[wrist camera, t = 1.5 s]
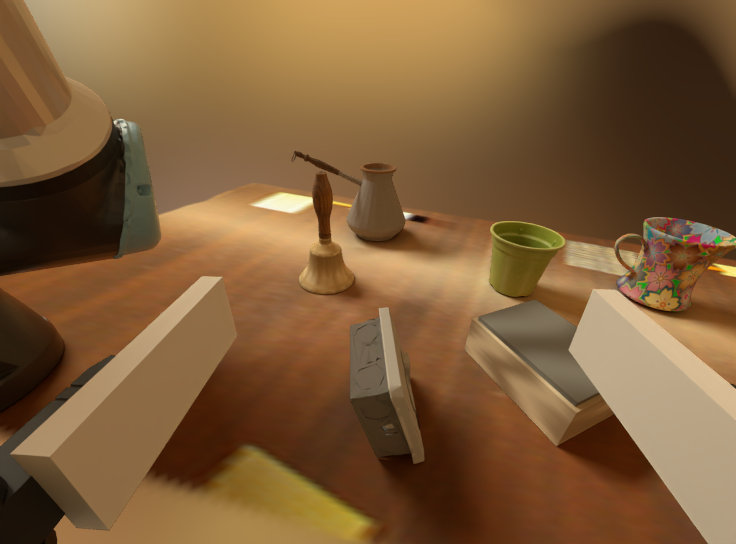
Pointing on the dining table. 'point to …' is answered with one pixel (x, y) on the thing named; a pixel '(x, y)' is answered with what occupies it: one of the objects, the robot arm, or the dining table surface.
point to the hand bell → (325, 248)
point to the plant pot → (521, 256)
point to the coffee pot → (371, 201)
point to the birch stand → (537, 368)
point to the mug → (671, 261)
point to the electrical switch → (383, 388)
